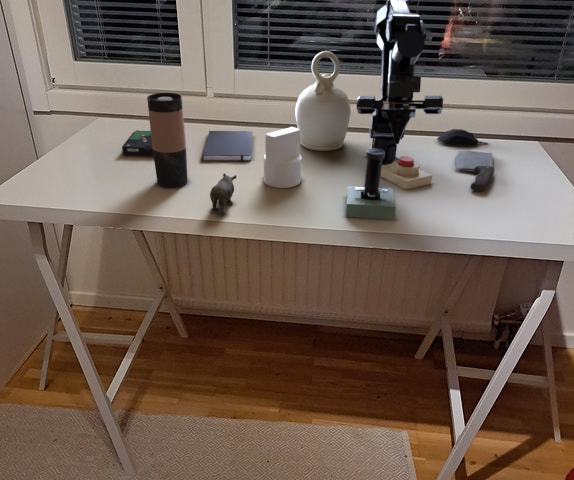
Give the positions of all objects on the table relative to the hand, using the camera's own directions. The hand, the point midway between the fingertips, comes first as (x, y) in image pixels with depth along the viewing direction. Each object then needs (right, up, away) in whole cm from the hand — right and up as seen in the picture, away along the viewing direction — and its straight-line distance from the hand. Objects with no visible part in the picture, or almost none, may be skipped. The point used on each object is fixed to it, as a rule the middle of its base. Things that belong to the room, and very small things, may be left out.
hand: (396, 143), depth 125 cm
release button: (+4, -2, +11) cm, 12 cm away
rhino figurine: (-39, -14, -2) cm, 41 cm away
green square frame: (-7, -15, -2) cm, 16 cm away
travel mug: (-52, -8, +8) cm, 53 cm away
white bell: (-15, +9, +34) cm, 39 cm away
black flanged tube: (-7, -15, -2) cm, 16 cm away
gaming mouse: (+27, +10, +38) cm, 48 cm away
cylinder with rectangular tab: (-26, -7, +10) cm, 29 cm away
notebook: (-41, +6, +30) cm, 51 cm away
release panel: (+4, -6, +13) cm, 15 cm away
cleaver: (+24, -3, +18) cm, 30 cm away
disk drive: (-63, +6, +28) cm, 70 cm away
